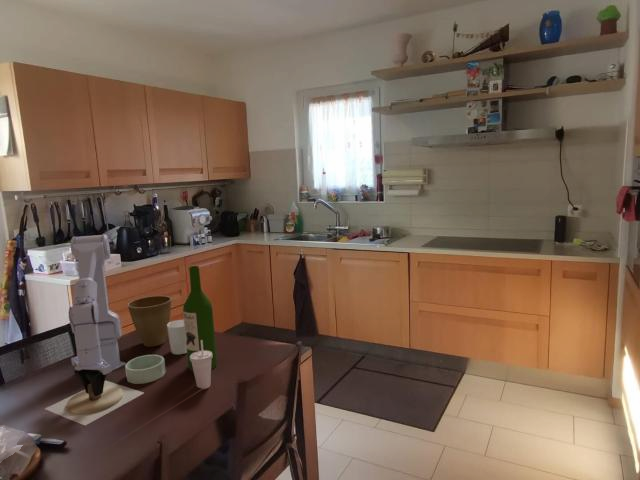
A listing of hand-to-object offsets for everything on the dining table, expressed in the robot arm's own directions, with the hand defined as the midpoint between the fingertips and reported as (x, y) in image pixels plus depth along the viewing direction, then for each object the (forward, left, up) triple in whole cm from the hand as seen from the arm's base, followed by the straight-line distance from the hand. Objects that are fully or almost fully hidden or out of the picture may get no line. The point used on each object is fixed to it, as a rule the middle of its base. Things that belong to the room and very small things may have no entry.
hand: (94, 393), depth 125 cm
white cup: (-5, +36, -3) cm, 36 cm away
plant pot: (-20, +37, -3) cm, 42 cm away
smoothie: (+21, +20, -3) cm, 29 cm away
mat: (0, 0, -3) cm, 3 cm away
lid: (0, 0, -2) cm, 2 cm away
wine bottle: (+11, +30, -3) cm, 32 cm away
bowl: (0, +17, -3) cm, 17 cm away
